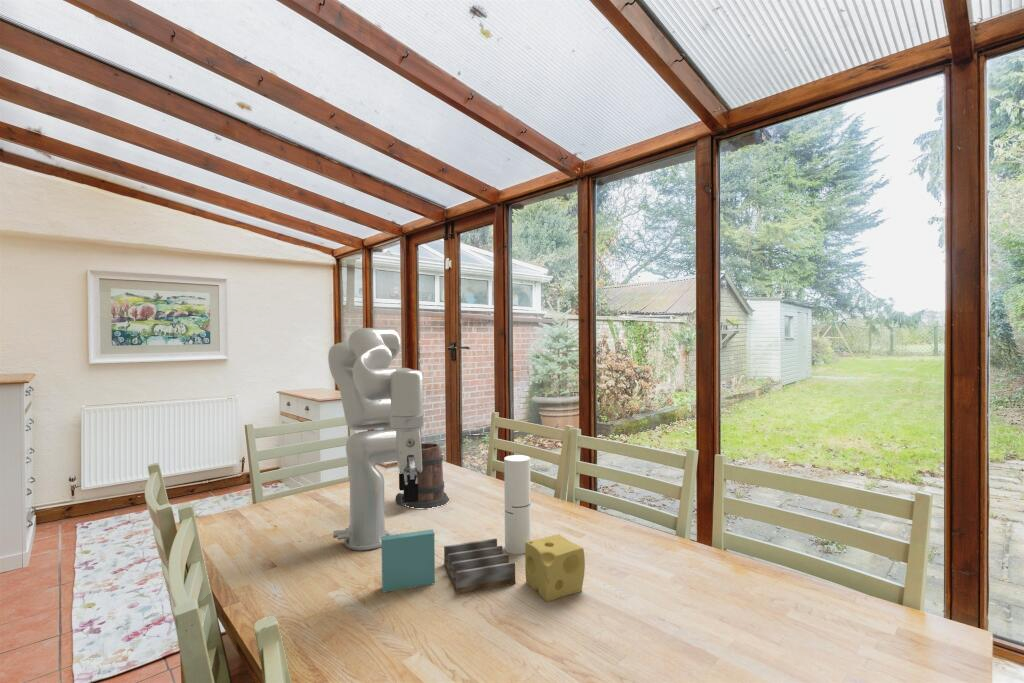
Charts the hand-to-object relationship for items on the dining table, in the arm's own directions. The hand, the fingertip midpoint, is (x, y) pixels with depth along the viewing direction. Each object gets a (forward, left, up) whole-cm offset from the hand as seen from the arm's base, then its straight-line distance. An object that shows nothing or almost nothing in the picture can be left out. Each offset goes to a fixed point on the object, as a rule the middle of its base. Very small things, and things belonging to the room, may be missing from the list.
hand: (408, 495), depth 114 cm
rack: (+17, 0, -21) cm, 27 cm away
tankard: (+11, +56, -22) cm, 61 cm away
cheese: (+32, -12, -22) cm, 40 cm away
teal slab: (0, 0, -21) cm, 21 cm away
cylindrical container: (+31, +10, -22) cm, 39 cm away
